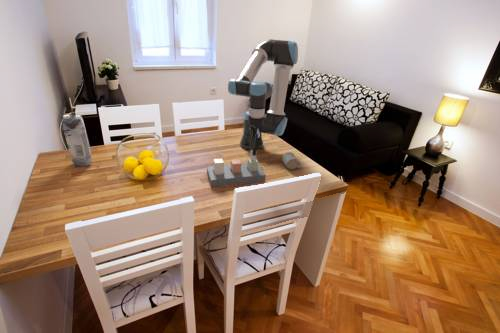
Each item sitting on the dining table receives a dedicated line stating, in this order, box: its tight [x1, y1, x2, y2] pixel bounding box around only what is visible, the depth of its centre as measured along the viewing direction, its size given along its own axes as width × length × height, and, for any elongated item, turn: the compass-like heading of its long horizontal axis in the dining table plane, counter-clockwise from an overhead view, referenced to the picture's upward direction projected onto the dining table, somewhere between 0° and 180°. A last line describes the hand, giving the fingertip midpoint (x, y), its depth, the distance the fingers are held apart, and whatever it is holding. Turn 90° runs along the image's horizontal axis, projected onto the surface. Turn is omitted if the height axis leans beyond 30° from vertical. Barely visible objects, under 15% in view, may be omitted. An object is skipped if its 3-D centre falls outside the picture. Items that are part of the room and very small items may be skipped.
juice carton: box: [61, 113, 92, 168], centre depth 143 cm, size 9×10×27 cm
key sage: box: [247, 158, 259, 172], centre depth 145 cm, size 4×4×7 cm
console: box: [206, 162, 266, 188], centre depth 145 cm, size 14×28×4 cm, turn 106°
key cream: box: [213, 158, 225, 175], centre depth 140 cm, size 4×4×7 cm
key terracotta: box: [230, 159, 242, 174], centre depth 143 cm, size 4×4×7 cm
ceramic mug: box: [281, 151, 303, 171], centre depth 158 cm, size 11×8×8 cm
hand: (253, 159), depth 144 cm, fingers closed
